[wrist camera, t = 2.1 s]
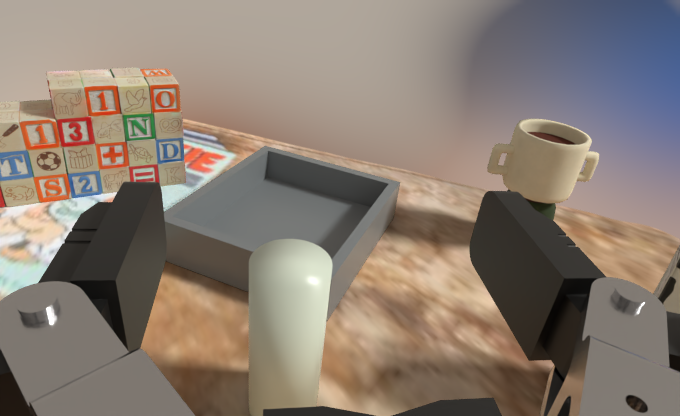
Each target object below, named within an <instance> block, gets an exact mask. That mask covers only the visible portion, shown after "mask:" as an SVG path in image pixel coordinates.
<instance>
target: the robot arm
mask: <svg viewBox="0 0 680 416" xmlns="http://www.w3.org/2000/svg"><path fill="white" fill-rule="evenodd" d="M575 245H576V244H575V243H574V242H573V241H572V240H571V239H570V238H569V237H568V236H566V233H565V232H564V231H563V230H562V229H561V228H560V227H559V226H558V225H557V224H556V223H555V222H554V221H553V220H551V219H549V218H548V217H546V216H545V215H543V214H541V213H540V212H538V211H536V210H535V209H534V208H533V207H532V206H531V205H530V204H529V202H528V201H527V200H526V199H525V198H524V197H523V196H522V195H521V194H520V193H519V192H513V191H488V192H487V193H486V194H485V195H484V197H483V199H482V203H481V206H480V210H479V213H478V217H477V220H476V224H475V227H474V231H473V234H472V238H471V241H470V258H471V262H472V264H473V266H474V268H475V270H476V271H477V273H478V275H479V276H480V278H481V280H482V281H483V283H484V285H485V287H486V288H487V290H488V292H489V293H490V295H491V297H492V298H493V300H494V302H495V304H496V305H497V307H498V309H499V310H500V312H501V314H502V315H503V317H504V319H505V321H506V322H507V324H508V326H509V327H510V329H511V331H512V333H513V334H514V336H515V338H516V339H517V341H518V343H519V344H520V346H521V348H522V350H523V351H524V353H525V355H526V356H527V358H528V360H529V361H532V360H552V362H553V363H554V366H553V368H552V370H551V372H550V375H549V378H548V382H547V386H546V390H545V395H544V399H543V403H542V407H541V411H540V416H680V314H678V313H673V312H668V311H666V309H665V307H664V305H663V304H662V303H661V301H660V300H659V299H658V298H657V297H656V296H654V295H653V294H652V293H650V292H649V291H648V290H646V289H644V288H642V287H641V286H639V285H636V284H634V283H632V282H629V281H626V280H623V279H618V278H612V277H606V276H605V275H604V274H603V273H602V272H601V271H600V270H599V269H598V268H597V267H596V266H595V264H594V263H593V262H592V261H591V260H590V259H589V258H588V257H587V256H586V255H585V254H584V253H583V252H582V251H581V250H580V248H579V247H576V246H575ZM166 251H167V240H166V230H165V220H164V211H163V201H162V192H161V187H160V184H159V183H158V182H127V181H125V182H123V183H122V185H121V187H120V189H119V191H118V192H117V194H116V196H115V198H114V200H113V202H98V203H97V204H95V205H94V206H92V207H91V208H89V209H88V210H87V211H85V212H84V213H82V214H81V215H80V217H79V218H78V220H77V222H76V223H75V225H74V226H73V228H72V232H70V233H69V234H68V236H67V238H66V239H65V244H62V246H61V247H60V249H59V250H58V252H57V254H56V255H55V257H54V258H53V260H52V262H51V263H50V265H49V266H48V268H47V270H46V271H45V273H44V274H43V276H42V278H41V279H40V281H39V282H38V283H37V284H33V285H30V286H27V287H24V288H22V289H19V290H17V291H15V292H13V293H11V294H10V295H8V296H7V297H5V298H4V299H3V300H1V301H0V416H195V415H194V413H193V412H192V411H191V410H190V408H189V407H188V406H187V405H186V403H185V402H184V401H183V399H182V398H181V397H180V396H179V394H178V393H177V392H176V390H175V389H174V388H173V387H172V385H171V384H170V383H169V381H168V380H167V379H166V378H165V376H164V375H163V374H162V373H161V371H160V370H159V369H158V367H157V366H156V365H155V364H154V362H153V361H152V360H151V358H150V357H149V356H148V355H147V354H146V353H145V352H144V351H143V350H142V349H140V347H141V343H142V340H143V336H144V333H145V330H146V326H147V323H148V320H149V316H150V313H151V309H152V306H153V303H154V299H155V296H156V292H157V289H158V286H159V282H160V279H161V275H162V272H163V269H164V265H165V260H166ZM263 416H374V415H369V414H363V413H358V412H352V411H347V410H341V409H335V408H330V407H324V406H319V407H298V408H278V409H263ZM393 416H502V415H501V413H500V411H499V409H498V407H497V404H496V402H495V400H494V398H479V399H459V400H440V401H437V402H434V403H430V404H427V405H424V406H421V407H418V408H415V409H412V410H408V411H405V412H402V413H399V414H396V415H393Z"/></svg>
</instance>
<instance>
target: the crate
mask: <svg viewBox="0 0 680 416" xmlns="http://www.w3.org/2000/svg"><path fill="white" fill-rule="evenodd" d="M399 186H400V182H397V181H393V180H389V179H386V178H382V177H378V176H375V175H371V174H367V173H363V172H360V171H356V170H352V169H349V168H345V167H341V166H338V165H334V164H330V163H327V162H323V161H319V160H315V159H312V158H308V157H304V156H301V155H297V154H293V153H290V152H286V151H282V150H279V149H275V148H271V147H267V146H264V147H263V148H261V149H260V150H258V151H257V152H255V153H254V154H252V155H251V156H249V157H248V158H246V159H244V160H243V161H241V162H240V163H238V164H237V165H235V166H234V167H232V168H231V169H229V170H228V171H226V172H225V173H223V174H222V175H220V176H219V177H217V178H216V179H214V180H212V181H211V182H209V183H208V184H206V185H205V186H203V187H202V188H200V189H199V190H197V191H196V192H194V193H193V194H191V195H190V196H188V197H187V198H185V199H184V200H182V201H180V202H179V203H177V204H176V205H174V206H173V207H171V208H170V209H168V210H167V211H165V212H164V220H165V230H166V240H167V251H166V260H165V261H167V262H169V263H172V264H175V265H177V266H180V267H183V268H185V269H188V270H191V271H193V272H196V273H199V274H201V275H204V276H207V277H209V278H212V279H215V280H217V281H220V282H223V283H225V284H228V285H231V286H233V287H236V288H239V289H241V290H244V291H247V292H249V259H250V256H251V255H252V253H253V252H254V251H255V250H256V249H257V248H258V247H260V246H261V245H263V244H265V243H268V242H270V241H274V240H279V239H299V240H304V241H308V242H311V243H314V244H316V245H318V246H319V247H321V248H322V249H324V250H325V251H326V252H327V253H328V254H329V256H330V258H331V260H332V265H333V267H332V275H331V284H330V293H329V302H328V311H327V320H326V321H328V319H329V318H330V316H331V314H332V313H333V311H334V310H335V308H336V307H337V305H338V303H339V302H340V300H341V299H342V297H343V296H344V294H345V293H346V291H347V289H348V288H349V286H350V285H351V283H352V282H353V280H354V278H355V277H356V275H357V274H358V272H359V271H360V269H361V268H362V266H363V264H364V263H365V261H366V260H367V258H368V257H369V255H370V253H371V252H372V250H373V249H374V247H375V246H376V244H377V243H378V241H379V239H380V238H381V236H382V235H383V233H384V232H385V230H386V228H387V227H388V225H389V224H390V222H391V221H392V219H393V218H394V213H395V208H396V202H397V197H398V191H399Z"/></svg>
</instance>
